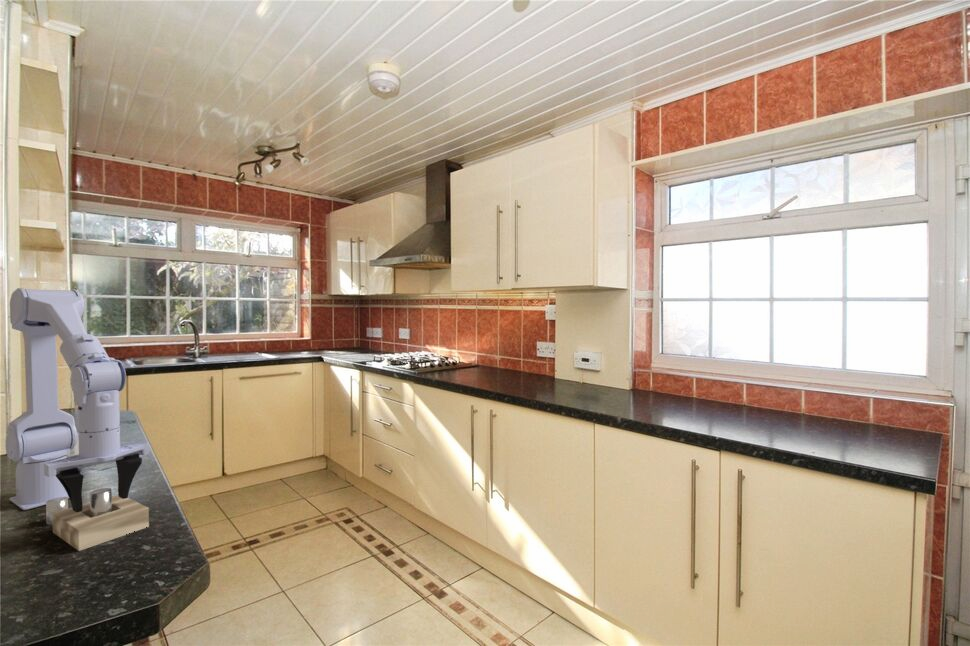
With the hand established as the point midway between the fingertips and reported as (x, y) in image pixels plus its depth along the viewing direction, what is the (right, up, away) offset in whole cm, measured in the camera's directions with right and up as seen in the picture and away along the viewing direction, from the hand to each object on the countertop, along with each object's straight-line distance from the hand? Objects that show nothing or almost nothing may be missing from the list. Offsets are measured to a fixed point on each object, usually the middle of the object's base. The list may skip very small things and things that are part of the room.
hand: (101, 503), depth 82 cm
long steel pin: (0, -5, 0) cm, 5 cm away
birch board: (0, -5, 0) cm, 5 cm away
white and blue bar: (-38, -4, +36) cm, 52 cm away
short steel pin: (-11, -5, +3) cm, 12 cm away
